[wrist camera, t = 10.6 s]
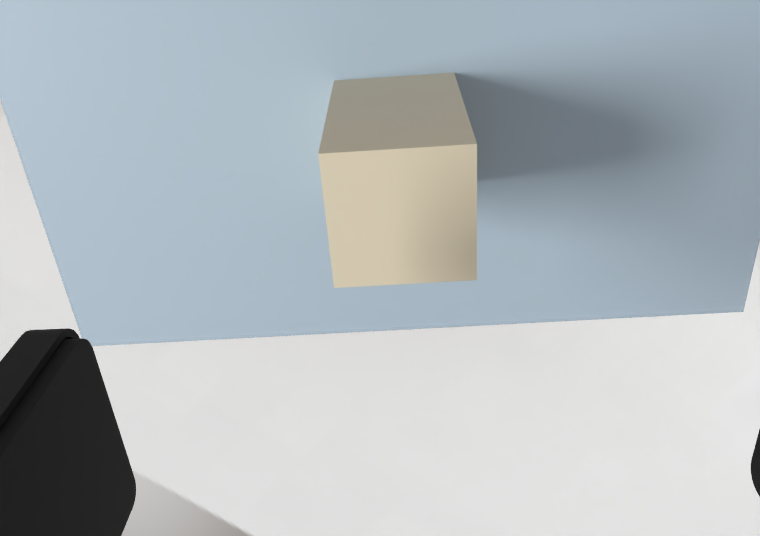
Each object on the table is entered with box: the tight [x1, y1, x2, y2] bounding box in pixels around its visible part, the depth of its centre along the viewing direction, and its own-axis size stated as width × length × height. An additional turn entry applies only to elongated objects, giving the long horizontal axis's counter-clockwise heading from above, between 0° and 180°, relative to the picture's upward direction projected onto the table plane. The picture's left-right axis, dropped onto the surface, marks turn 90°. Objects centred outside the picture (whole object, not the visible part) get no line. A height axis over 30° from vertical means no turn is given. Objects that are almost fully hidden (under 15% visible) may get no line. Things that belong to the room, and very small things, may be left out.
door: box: [0, 0, 760, 346], centre depth 17 cm, size 20×14×6 cm
